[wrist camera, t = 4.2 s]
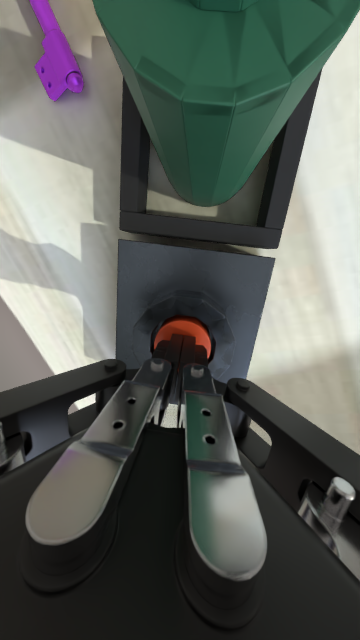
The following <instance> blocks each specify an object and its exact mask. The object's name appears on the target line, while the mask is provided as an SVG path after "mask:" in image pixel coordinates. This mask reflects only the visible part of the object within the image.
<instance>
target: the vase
mask: <svg viewBox="0 0 360 640" xmlns="http://www.w3.org/2000/svg"><path fill="white" fill-rule="evenodd" d="M92 1H93V4H94V8H95V11H96V14H97V16H98V19H99V21H100V23H101V26H102V28H103V30H104V32H105V35H106V37H107V39H108V42H109V44H110V46H111V49H112V51H113V53H114V55H115V58H116V60H117V62H118V65H119V67H120V69H121V71H122V74H123V76H124V78H125V81H126V83H127V85H128V87H129V90H130V92H131V94H132V97H133V99H134V101H135V103H136V106H137V108H138V110H139V113H140V115H141V117H142V120H143V122H144V124H145V126H146V129H147V131H148V133H149V136H150V138H151V140H152V142H153V145H154V147H155V149H156V152H157V154H158V156H159V158H160V161H161V163H162V165H163V168H164V170H165V172H166V174H167V177H168V179H169V181H170V183H171V184H172V186H173V187H174V189H175V191H176V192H177V193H178V194H179V195H180V196H181V197H182V198H183V199H184V200H186V201H187V202H189V203H191V204H194V205H196V206H201V207H211V206H216V205H219V204H222V203H224V202H226V201H227V200H229V199H230V198H232V197H233V196H234V195H235V194H236V193H237V192H238V191H239V190H240V189H241V188H242V186H243V185H244V184H245V182H246V181H247V179H248V178H249V176H250V175H251V173H252V172H253V170H254V169H255V167H256V166H257V164H258V163H259V161H260V160H261V158H262V157H263V155H264V154H265V152H266V151H267V149H268V148H269V146H270V145H271V143H272V142H273V140H274V139H275V137H276V136H277V134H278V133H279V131H280V130H281V128H282V127H283V126H284V124H285V123H286V121H287V120H288V118H289V117H290V115H291V114H292V112H293V111H294V109H295V108H296V106H297V105H298V103H299V102H300V100H301V99H302V97H303V96H304V94H305V93H306V91H307V90H308V88H309V87H310V85H311V84H312V82H313V81H314V79H315V78H316V76H317V75H318V73H319V72H320V70H321V69H322V67H323V66H324V65H325V63H326V62H327V60H328V59H329V57H330V56H331V54H332V53H333V51H334V50H335V48H336V47H337V45H338V44H339V42H340V41H341V39H342V38H343V36H344V35H345V33H346V32H347V30H348V28H349V27H350V25H351V23H352V22H353V20H354V18H355V17H356V15H357V13H358V11H359V10H360V0H92Z"/></svg>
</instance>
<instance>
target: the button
mask: <svg viewBox="0 0 360 640" xmlns="http://www.w3.org/2000/svg"><path fill="white" fill-rule="evenodd" d="M172 334H179V335H183V341H184V335H187V336H194V337H196V344H197V345H203V346H204V347H205V348H206V349H207V358H209V355H210V352H211V342H210V334H209V330H208V328H207V326H206V325H205V324H204V323H203V322H201V321H200V320H199V319H197V318H196V317H191V316H184V315H175V316H173V317H170V318H168V319H166V320H165V321H164V322H163V324H162V325H161V327H160V329H159V331H158V333H157V335H156V338H155V342H154V349H155V348H156V346H157V344H158V342H160V341H162V340H168V341H170V339H171V336H172ZM182 347H183V344H182ZM181 352H182V351H181Z"/></svg>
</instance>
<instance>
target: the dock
mask: <svg viewBox="0 0 360 640" xmlns="http://www.w3.org/2000/svg"><path fill="white" fill-rule="evenodd" d="M322 68H323V67H322ZM321 72H322V69H321V70H320V72H319V73H318V75H317V76H316V78H315V79H314V81H313V82H312V84H311V85H310V87H309V88H308V90H307V91H306V93H305V94H304V96H303V97H302V99H301V100H300V102H299V103H298V105H297V106H296V108H295V109H294V111H293V112H292V114H291V115H290V117H289V118H288V120H287V121H286V123H285V124H284V126H283V127H282V128H281V130H280V131H279V133H278V134H277V136H276V137H275V139H274V143H273V147H272V152H271V157H270V162H269V167H268V171H267V176H266V181H265V186H264V191H263V195H262V200H261V205H260V210H259V215H258V219H257V224H256V226H248V225H239V224H231V223H222V222H213V221H204V220H196V219H187V218H178V217H170V216H161V215H152V214H146V202H147V185H148V168H149V151H150V136H149V133H148V131H147V129H146V126H145V124H144V122H143V120H142V117H141V115H140V113H139V110H138V108H137V106H136V103H135V101H134V99H133V97H132V94H131V92H130V90H129V87H128V85H127V83H126V81H125V78H124V76H123V103H122V144H121V185H120V227H119V229H120V230H122V231H126V232H130V233H137V234H146V235H154V236H163V237H171V238H179V239H188V240H196V241H205V242H213V243H221V244H230V245H238V246H246V247H255V248H263V249H277V248H278V246H279V242H280V238H281V234H282V230H281V229H283V226H284V222H285V218H286V214H287V210H288V206H289V202H290V198H291V194H292V190H293V186H294V182H295V178H296V173H297V169H298V165H299V161H300V157H301V153H302V149H303V145H304V141H305V137H306V133H307V129H308V125H309V121H310V116H311V112H312V108H313V104H314V100H315V96H316V92H317V88H318V84H319V80H320V76H321Z"/></svg>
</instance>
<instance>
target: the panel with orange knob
mask: <svg viewBox="0 0 360 640" xmlns="http://www.w3.org/2000/svg"><path fill="white" fill-rule="evenodd" d="M274 263H275V258H271V257H263V256H255V255H247V254H238V253H230V252H222V251H214V250H205V249H197V248H189V247H180V246H172V245H164V244H156V243H147V242H139V241H131V240H123V239H119V240H118V279H117V322H116V359H117V360H121V361H123V362H124V363H125V364H126V369H138V368H140V367H141V366H142V364H143V363H144V362H145V361H146V360H148V359H151V357H152V355H153V353H154V351H155V349H154V342H155V338H156V335H157V333H158V331H159V329H160V327H161V325H162V324H163V322H164V321H165V320H166V319H168V318H170V317H173V316H175V315H184V316H191V317H196V318H197V319H199V320H200V321H201V322H203V323H204V324H205V325H206V326H207V328H208V330H209V334H210V342H211V352H210V355H209V358H208V368H209V369H210V371H211V374H212V377H213V378H214V379H216V380H218V381H220V382H223V383H226V384H227V382H228V380H229V379H231V378H243V379H246V377H247V373H248V369H249V365H250V361H251V357H252V353H253V349H254V345H255V340H256V336H257V332H258V328H259V324H260V320H261V316H262V312H263V308H264V304H265V300H266V296H267V292H268V288H269V283H270V279H271V275H272V271H273V267H274ZM177 380H178V378H177ZM176 387H177V383H176ZM175 395H176V389H175ZM175 395H174V401H173V402H169V403H170V404H176V405H178V403H176V402H175Z"/></svg>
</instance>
